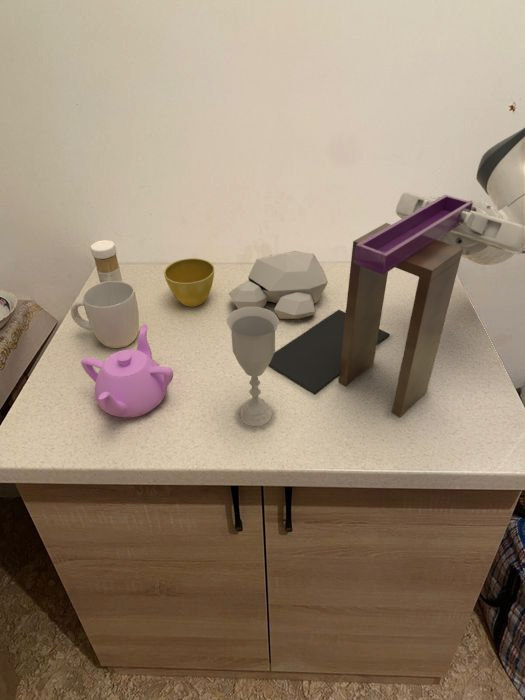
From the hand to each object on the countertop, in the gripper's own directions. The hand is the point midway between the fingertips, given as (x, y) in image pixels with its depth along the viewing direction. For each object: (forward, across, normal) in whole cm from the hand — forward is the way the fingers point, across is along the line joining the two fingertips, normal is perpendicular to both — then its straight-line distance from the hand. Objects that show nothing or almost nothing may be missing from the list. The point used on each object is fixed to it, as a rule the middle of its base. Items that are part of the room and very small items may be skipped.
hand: (444, 211), depth 71 cm
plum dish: (+5, 0, -5) cm, 7 cm away
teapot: (+20, +28, -44) cm, 56 cm away
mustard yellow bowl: (-2, +44, -31) cm, 54 cm away
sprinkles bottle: (+8, +55, -37) cm, 67 cm away
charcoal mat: (-8, +13, -28) cm, 31 cm away
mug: (+14, +46, -40) cm, 63 cm away
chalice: (+10, +11, -38) cm, 41 cm away
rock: (-13, +31, -25) cm, 42 cm away
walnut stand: (-6, 0, -29) cm, 29 cm away
